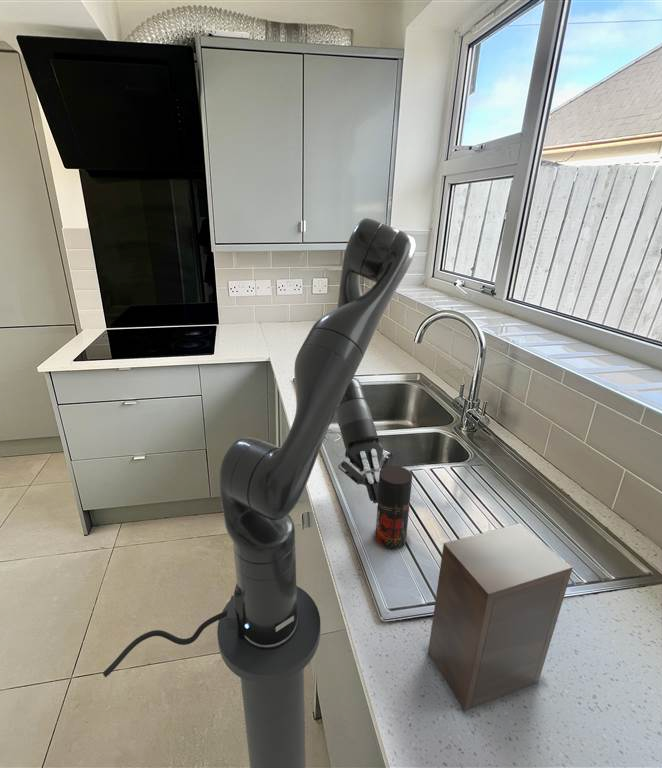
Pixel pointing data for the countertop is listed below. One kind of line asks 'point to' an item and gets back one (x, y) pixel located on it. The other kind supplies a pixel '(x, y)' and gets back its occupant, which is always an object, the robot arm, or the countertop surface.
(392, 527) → the deodorant
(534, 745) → the countertop surface
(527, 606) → the tall brown cuboid
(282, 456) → the robot arm
